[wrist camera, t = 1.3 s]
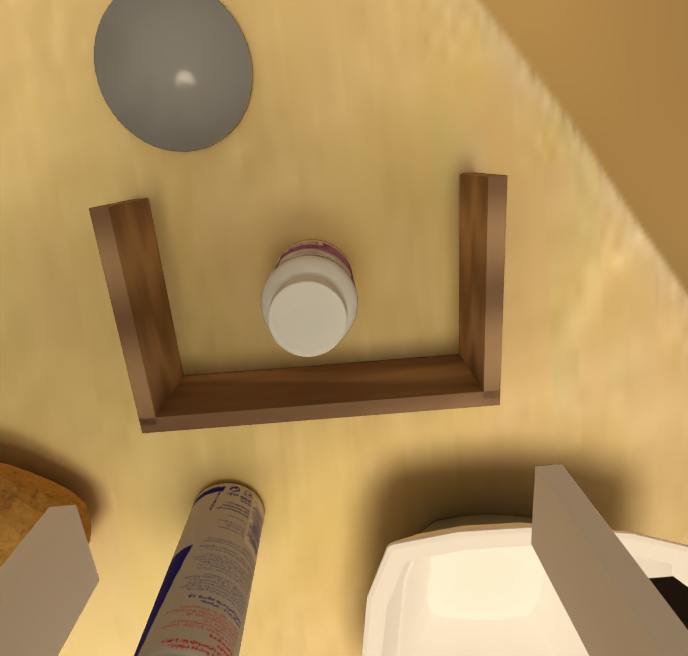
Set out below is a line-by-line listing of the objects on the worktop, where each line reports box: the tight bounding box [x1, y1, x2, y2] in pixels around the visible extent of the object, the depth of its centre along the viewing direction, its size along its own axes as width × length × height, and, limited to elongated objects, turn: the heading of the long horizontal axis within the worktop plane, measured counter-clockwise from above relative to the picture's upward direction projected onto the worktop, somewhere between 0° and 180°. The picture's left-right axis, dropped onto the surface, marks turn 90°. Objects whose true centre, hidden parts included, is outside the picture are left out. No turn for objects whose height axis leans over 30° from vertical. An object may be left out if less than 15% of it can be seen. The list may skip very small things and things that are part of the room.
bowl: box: [362, 514, 688, 656], centre depth 38 cm, size 22×23×8 cm
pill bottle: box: [261, 240, 358, 357], centre depth 29 cm, size 5×5×10 cm
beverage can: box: [134, 483, 264, 656], centre depth 32 cm, size 6×6×15 cm
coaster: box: [94, 0, 253, 151], centre depth 29 cm, size 9×9×1 cm
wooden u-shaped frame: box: [89, 173, 507, 433], centre depth 31 cm, size 14×22×6 cm, turn 94°
